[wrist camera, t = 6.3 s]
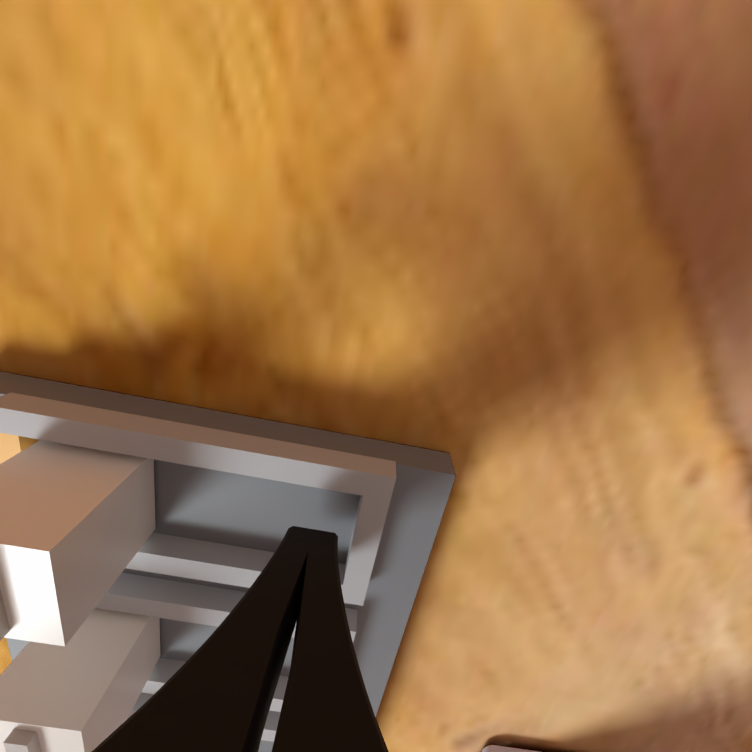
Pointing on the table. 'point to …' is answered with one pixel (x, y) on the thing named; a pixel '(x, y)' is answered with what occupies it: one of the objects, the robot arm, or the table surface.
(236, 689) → the robot arm
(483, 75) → the table surface
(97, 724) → the slider mid
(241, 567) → the switch unit
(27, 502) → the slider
